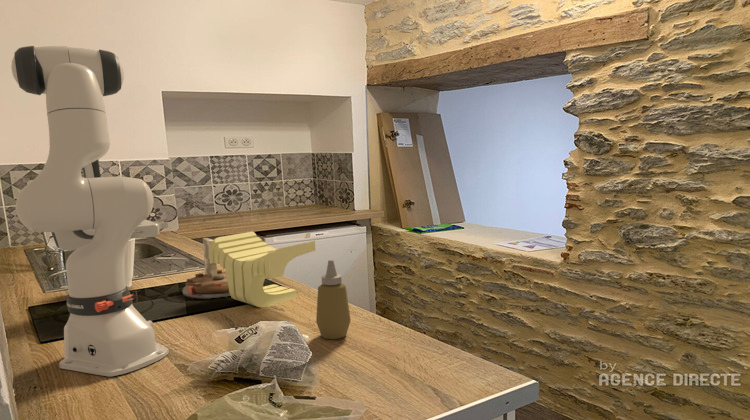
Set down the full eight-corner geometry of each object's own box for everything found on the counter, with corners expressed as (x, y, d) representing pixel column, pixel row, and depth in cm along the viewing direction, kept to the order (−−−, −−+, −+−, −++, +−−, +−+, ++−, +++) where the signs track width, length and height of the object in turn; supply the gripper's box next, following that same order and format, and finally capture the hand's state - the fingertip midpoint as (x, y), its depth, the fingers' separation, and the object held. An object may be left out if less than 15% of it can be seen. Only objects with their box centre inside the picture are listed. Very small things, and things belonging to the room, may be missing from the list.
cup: (141, 280, 177) (137, 235, 175) (137, 289, 166) (132, 240, 164) (103, 284, 173) (98, 238, 171) (96, 293, 162) (91, 244, 160)
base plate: (268, 284, 167) (268, 274, 166) (216, 302, 148) (215, 291, 148) (222, 276, 178) (221, 267, 178) (167, 293, 160) (166, 282, 159)
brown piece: (260, 285, 162) (257, 241, 160) (199, 297, 150) (196, 251, 148) (235, 274, 176) (232, 234, 175) (178, 285, 165) (175, 242, 163)
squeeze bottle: (319, 329, 124) (315, 257, 122) (352, 328, 124) (349, 256, 122) (314, 342, 116) (310, 265, 114) (349, 341, 116) (346, 264, 114)
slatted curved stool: (212, 296, 155) (208, 239, 152) (256, 285, 166) (253, 231, 164) (272, 316, 135) (268, 250, 132) (317, 302, 146) (314, 240, 144)
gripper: (124, 223, 140) (176, 217, 149) (108, 216, 156) (156, 211, 165) (126, 245, 141) (177, 238, 150) (110, 236, 157) (157, 230, 166)
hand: (166, 224), depth 157 cm, fingers closed
